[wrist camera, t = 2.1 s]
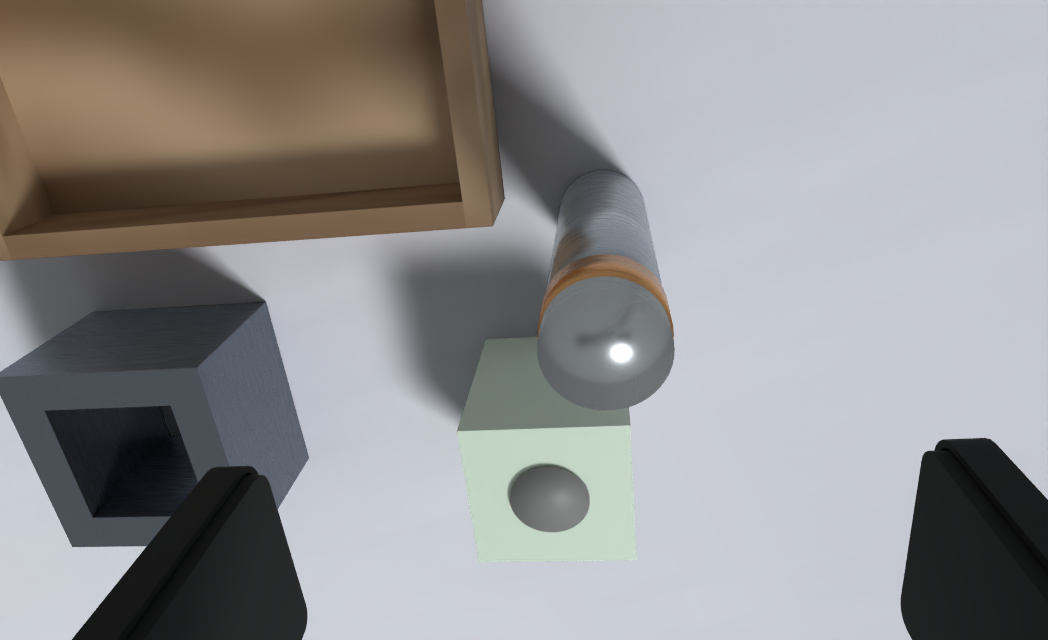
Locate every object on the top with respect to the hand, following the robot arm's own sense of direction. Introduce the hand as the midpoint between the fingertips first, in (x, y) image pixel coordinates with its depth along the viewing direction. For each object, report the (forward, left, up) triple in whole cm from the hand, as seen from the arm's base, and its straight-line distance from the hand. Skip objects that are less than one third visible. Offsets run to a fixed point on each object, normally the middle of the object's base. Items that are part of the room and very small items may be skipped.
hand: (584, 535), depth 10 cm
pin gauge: (0, 0, -15) cm, 15 cm away
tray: (-7, -11, -15) cm, 20 cm away
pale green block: (+7, -2, -15) cm, 17 cm away
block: (+6, -16, -15) cm, 22 cm away
